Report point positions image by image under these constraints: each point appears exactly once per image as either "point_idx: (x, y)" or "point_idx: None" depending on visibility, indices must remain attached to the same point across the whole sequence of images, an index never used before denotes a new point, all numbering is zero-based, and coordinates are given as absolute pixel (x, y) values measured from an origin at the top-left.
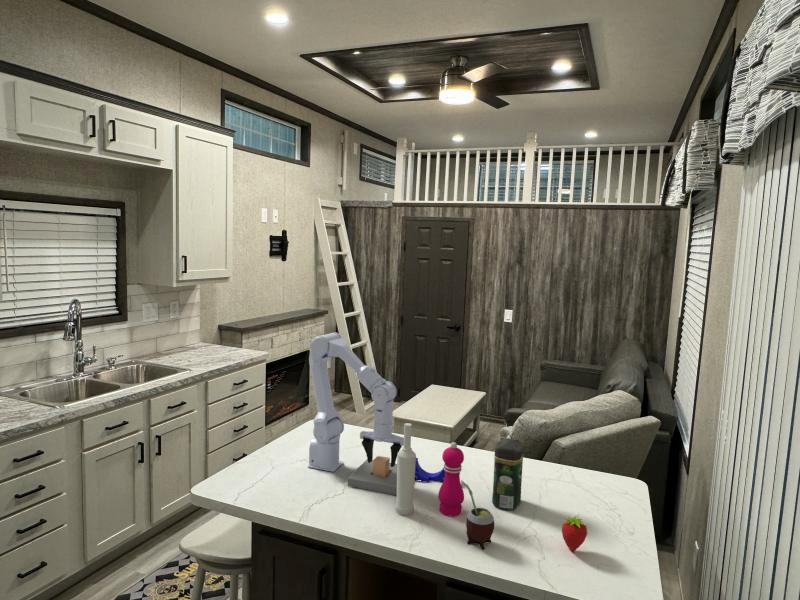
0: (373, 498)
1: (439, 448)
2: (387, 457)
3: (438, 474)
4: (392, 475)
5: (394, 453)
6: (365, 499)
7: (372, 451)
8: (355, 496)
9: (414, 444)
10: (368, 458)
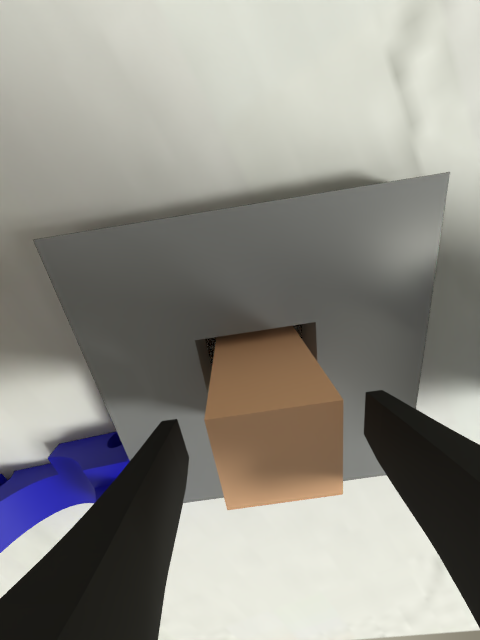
0: (166, 108)
1: (201, 631)
2: (246, 504)
3: (8, 504)
4: (179, 379)
5: (16, 605)
6: (204, 53)
7: (422, 521)
8: (290, 57)
9: (287, 621)
10: (406, 412)
